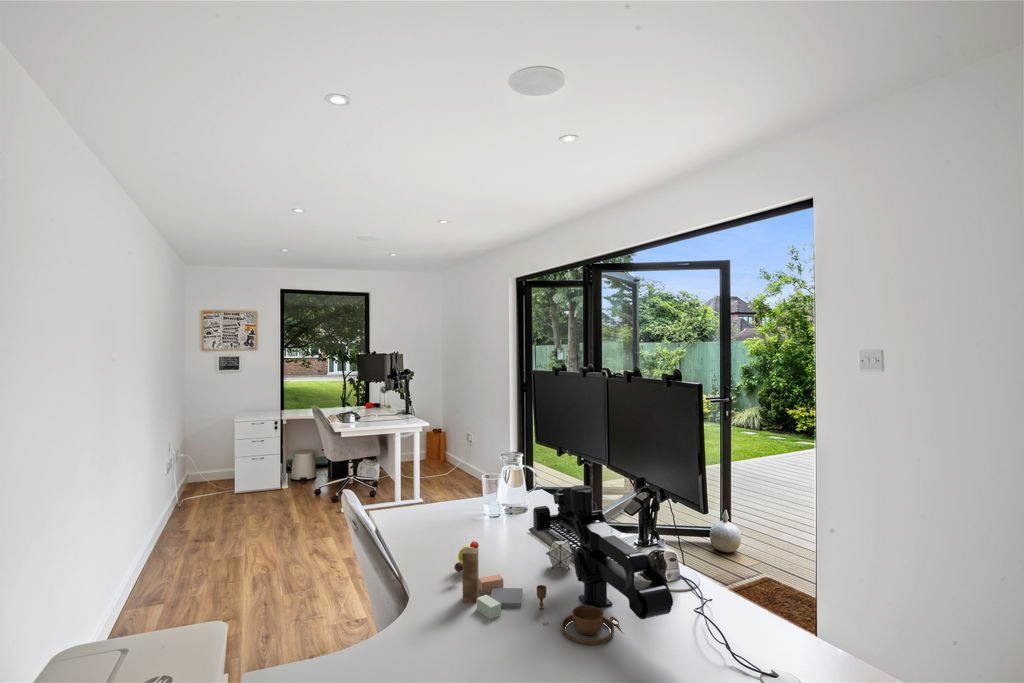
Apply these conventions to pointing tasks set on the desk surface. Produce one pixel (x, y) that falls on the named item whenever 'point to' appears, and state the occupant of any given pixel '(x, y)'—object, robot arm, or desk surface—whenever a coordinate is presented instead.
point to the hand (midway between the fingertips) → (552, 507)
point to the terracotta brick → (490, 583)
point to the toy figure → (459, 565)
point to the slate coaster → (508, 596)
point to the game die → (560, 554)
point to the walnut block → (470, 574)
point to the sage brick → (488, 606)
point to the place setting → (583, 620)
